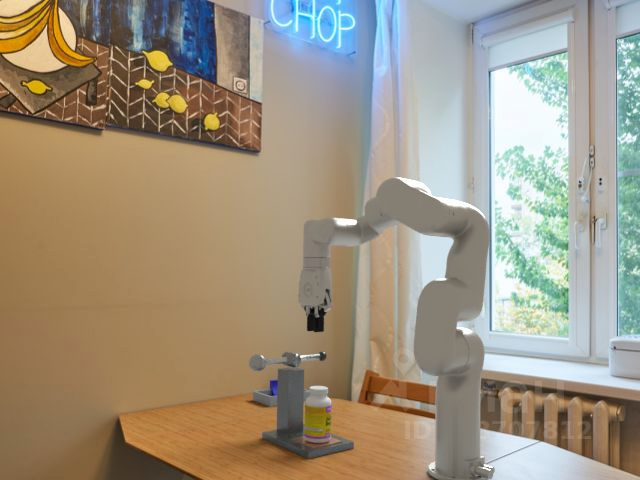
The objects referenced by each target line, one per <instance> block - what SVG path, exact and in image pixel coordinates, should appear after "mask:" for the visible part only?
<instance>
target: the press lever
mask: <svg viewBox="0 0 640 480" xmlns="http://www.w3.org/2000/svg"><path fill="white" fill-rule="evenodd" d="M327 357H328V356H327V353H326V352H325V351H320V352H318V353H315V354H303V355H302V354H301V355H300V354H298V353H295V352H291V351H285V352H284V353H282V355H281V357H271V358H265V356H263V355H262V354H260V353H257V354H253V355H252V356H250V358H249V360H248V367H249V368H250V370H251V371H253V372H256V373H258V372H262V371H263V370H264V369H266V367H267V366H273V365H280V364H281V365H282V364H283V365H284V366H287V367H296V368H299V366H300V364H302V363H301V362H309V361H321V362H324V361H326V360H327Z"/></svg>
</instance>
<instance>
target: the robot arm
mask: <svg viewBox="0 0 640 480" xmlns="http://www.w3.org/2000/svg"><path fill="white" fill-rule="evenodd" d="M399 224H402V225H404V226H406V227H407V228H410V229H411V230H413V231H415V232H416V233H419V234H422V235H423V236H429V237H440V238H450V239H452V240H453V243H452V245H451V247H450V249H449V250H448V251H449V252H448V254H447V258H446V263H445V265H446V267H445V268H446V269H445V274H444V278H443V277H442V278H437V279H433V280H431V281H429V282H428V283H427V284H426V285H425V286H424V287H423V288H422V290H421V292H420V294H419V297H418V300H417V306H416V316H415V325H414V327H415V329H414V338H413V356H414V361H415V363H416V365H417V367H418V368H419V369H420V370H421V372H422V373H424V374H426V375H428V376H431V377H437V379H436V387H435V404H434V405H435V407H434V408H435V409H434V411H435V419H434V420H435V422H434V425H435V428H434V429H435V433H434V436H435V438H434V439H435V440H434V442H435V443H434V444H435V445H434V451H435V452H434V457H435V459H434V460H435V461H432V462H431V463H429V464H428V466H427V472H428V474H429V475H430V476H431V477H432V478H434V479H435V480H492V479H493V476H494V473H495V470H496V469H495V467H494V466H491V465H487V464H486V463H485V462H486V461H485V460H486V459H485V458H486V457H485V456H484V455H481V393H482V392H481V386H482V385H481V384H482V376H483V375H482V374H483V369H484V368H483V367H484V364H485V363H484V362H485V355H486V354H485V346H484V343H483V341H482V339H481V338H482V337H480V336H479V334H478V333H476V331H474V330H472V329H470V328H468V327H467V328H466V327H460V326H459V327H458V323H465V322H471V321H473V320H474V321H475V319H477V318H478V317H479V316H480V315H481V313H482V311H483V305H484V298H485V287H486V276H487V262H488V254H489V248H490V240H491V239H490V238H491V231H490V226H489V223H488V220H487V218H486V217H485V215H484V214H483V213H482V211H480V209H478V208H477V207H475V206H473V205H471V204H469V203H466V202H463V201H459V200H456V199H450V198H443V197H439V196H438V197H436V196H433V195H432V192H431V190H430V189H429V188H428V187H427V186H426V185H425V184H424V183H422V182H420V181H417V180H412V179H408V178H403V177H390V178H388V179H386V180H384V181H382V183H381V184H380V185H379V186H378V188H377V190H376V194H375V196H374V197H371V198H370V199H369V200H367V201H366V203H365V205H364V215H363V216H360V217H358V218H353V219H351V218H344V217H343V218H341V217H331V216H330V217H329V216H328V217H324V218H320V219H309V220H306V221H305V222H304V223H303V237H302V238H303V245H302V269H301V271H300V276H299V282H298V295H297V296H298V301H297V302H298V304H300V307H301V308H302V309H303V310H304V311H305V316H306V331H307V332H313V333H323V332H324V331H325V317H326V315H327V313H328V311H330V310H332V302H333V281H332V280H333V279H332V272H331V246H333V247H350V248H353V247H357V246H362V245H364V244H366V243H369V242H372V241H374V240H376V239H378V238H379V237H380V236H381V235H382V234H383V233H384V231H385V230H387V229H391V228H393V227H395V226H397V225H399Z"/></svg>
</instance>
